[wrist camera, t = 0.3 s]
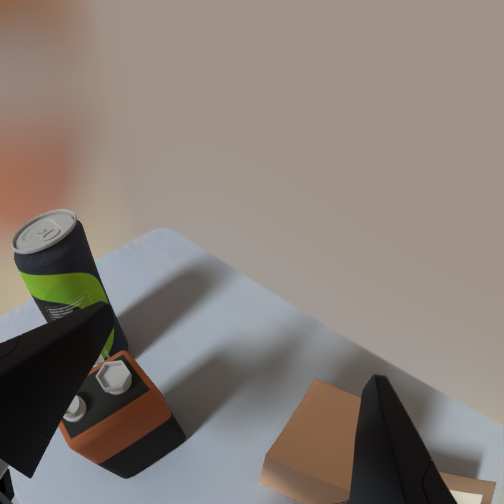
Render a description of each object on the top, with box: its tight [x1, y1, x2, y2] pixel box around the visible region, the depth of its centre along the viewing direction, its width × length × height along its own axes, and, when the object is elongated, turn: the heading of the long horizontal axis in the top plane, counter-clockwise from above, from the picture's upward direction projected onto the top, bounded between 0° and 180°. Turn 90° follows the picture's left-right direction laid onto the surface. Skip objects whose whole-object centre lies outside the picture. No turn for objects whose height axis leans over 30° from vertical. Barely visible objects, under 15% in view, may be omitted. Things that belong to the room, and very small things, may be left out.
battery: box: [59, 350, 186, 479], centre depth 16 cm, size 4×7×10 cm, turn 136°
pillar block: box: [259, 378, 361, 504], centre depth 14 cm, size 5×5×10 cm
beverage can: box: [11, 209, 128, 367], centre depth 21 cm, size 6×6×15 cm
